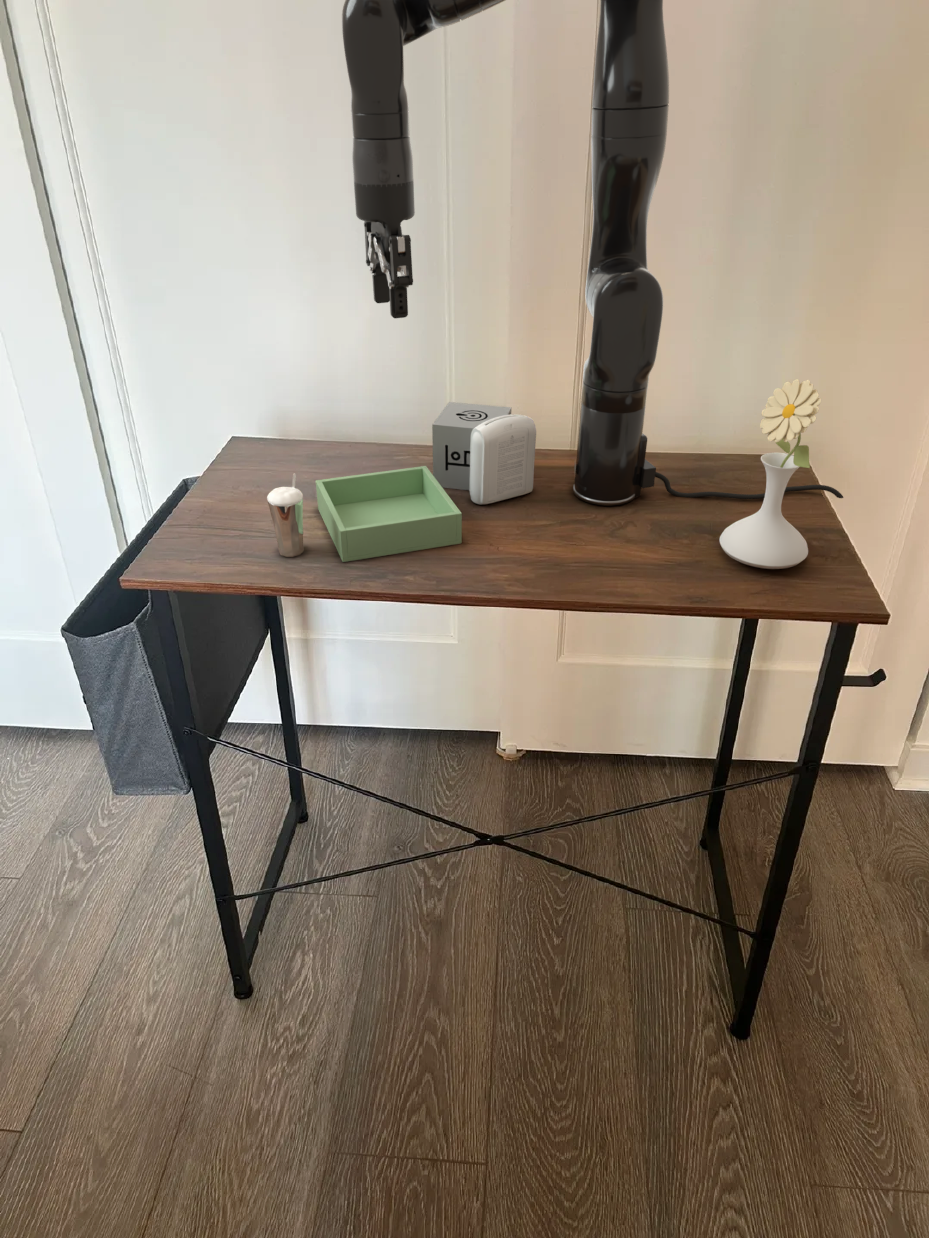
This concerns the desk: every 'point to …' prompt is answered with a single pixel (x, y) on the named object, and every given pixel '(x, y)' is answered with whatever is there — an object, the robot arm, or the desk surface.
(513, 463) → the photo printer
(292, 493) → the milkshake
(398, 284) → the robot arm
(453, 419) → the icon cube
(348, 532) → the tote
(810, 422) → the flower in vase
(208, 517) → the desk surface
